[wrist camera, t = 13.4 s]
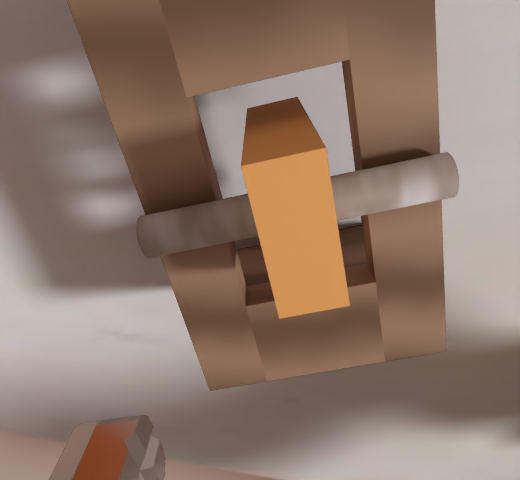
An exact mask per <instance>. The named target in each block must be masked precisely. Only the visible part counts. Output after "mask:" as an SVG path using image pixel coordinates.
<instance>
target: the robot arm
mask: <svg viewBox="0 0 520 480" xmlns="http://www.w3.org/2000/svg"><path fill="white" fill-rule="evenodd" d="M152 429H153V425H152V423H151V421H150V419H149V417H148V416H146V415H139V416H132V417H124V418H116V419H109V420H101V421H97V422H90V423H82V424H79V425H78V426H77V427H76V428H75V429H74V430H73V432H72V434H71V436H70V438H69V440H68V442H67V444H66V446H65V448H64V450H63V453H62V454H61V456H60V458H59V461H58V463H57V465H56V467H55V469H54V471H53V473H52V475H51V477H50V479H49V480H164V476H165V455H164V450H163V447H162V445H161V442H160V440H158V439H157V438H155V437H153V436H152V435H151V432H152Z"/></svg>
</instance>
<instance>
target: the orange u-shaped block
mask: <svg viewBox="0 0 520 480" xmlns="http://www.w3.org/2000/svg"><path fill="white" fill-rule="evenodd" d="M241 168H242V172H243V176H244V180H245V184H246V188H247V192H248V196H249V200H250V204H251V208H252V212H253V216H254V220H255V224H256V228H257V232H258V236H259V240H260V244H261V248H262V252H263V256H264V260H265V264H266V268H267V272H268V276H269V280H270V284H271V288H272V292H273V296H274V300H275V304H276V308H277V312H278V316H279V319H281V318H286V317H292V316H297V315H302V314H308V313H313V312H319V311H324V310H330V309H335V308H341V307H346V306H350V302H349V295H348V289H347V282H346V276H345V269H344V263H343V256H342V250H341V243H340V237H339V230H338V223H337V217H336V210H335V204H334V197H333V191H332V184H331V178H330V171H329V164H328V158H327V151H326V147H325V145H324V143H323V142H322V140H321V138H320V136H319V134H318V133H317V131H316V129H315V127H314V126H313V124H312V122H311V120H310V119H309V117H308V115H307V113H306V111H305V110H304V108H303V106H302V104H301V103H300V101H299V99H298V97H295V98H290V99H286V100H282V101H277V102H273V103H269V104H264V105H260V106H256V107H252V108H247V116H246V125H245V134H244V144H243V153H242V162H241Z"/></svg>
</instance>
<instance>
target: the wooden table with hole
mask: <svg viewBox="0 0 520 480" xmlns="http://www.w3.org/2000/svg"><path fill="white" fill-rule="evenodd" d="M67 2H68V5H69V7H70V10H71V13H72V15H73V18H74V21H75V24H76V26H77V29H78V32H79V35H80V37H81V40H82V43H83V45H84V48H85V51H86V54H87V56H88V59H89V62H90V65H91V67H92V70H93V73H94V75H95V78H96V81H97V84H98V86H99V89H100V92H101V95H102V97H103V100H104V103H105V106H106V108H107V111H108V114H109V116H110V119H111V122H112V125H113V127H114V130H115V133H116V136H117V138H118V141H119V144H120V146H121V149H122V152H123V155H124V157H125V160H126V163H127V166H128V168H129V171H130V174H131V176H132V179H133V182H134V185H135V187H136V190H137V193H138V196H139V198H140V201H141V204H142V207H143V209H144V212H145V216H140V217H139V218H138V220H137V237H138V241H139V245H140V247H141V250H142V252H143V253H144V255H145V256H146V257H147V258H153V257H158V256H161V258H162V261H163V264H164V267H165V269H166V272H167V275H168V277H169V280H170V283H171V286H172V288H173V291H174V294H175V297H176V299H177V302H178V305H179V308H180V310H181V313H182V316H183V318H184V321H185V324H186V327H187V329H188V332H189V335H190V338H191V340H192V343H193V346H194V348H195V351H196V354H197V357H198V359H199V362H200V365H201V368H202V370H203V373H204V376H205V378H206V381H207V384H208V387H209V389H210V391H212V390H218V389H224V388H230V387H236V386H242V385H248V384H254V383H260V382H266V381H272V380H278V379H284V378H290V377H296V376H302V375H308V374H314V373H320V372H325V371H331V370H337V369H343V368H349V367H355V366H361V365H367V364H373V363H379V362H385V361H391V360H397V359H403V358H409V357H415V356H421V355H427V354H433V353H439V352H445V351H446V322H445V292H444V262H443V232H442V202H441V200H442V199H447V198H452V197H455V196H456V195H457V193H458V189H459V176H458V170H457V166H456V163H455V161H454V159H453V157H452V156H451V155H450V154H449V153H448V152H445V153H440V142H439V112H438V82H437V52H436V22H435V0H67ZM341 61H342V67H343V75H344V83H345V91H346V99H347V107H348V115H349V123H350V131H351V139H352V147H353V155H354V163H355V171H354V172H349V173H345V174H340V175H335V176H330V178H331V184H332V191H333V197H334V204H335V210H336V217H337V221H338V220H343V219H348V218H352V217H357V216H361V219H362V225H361V226H356V227H351V228H346V229H341V230H339V237H340V243H341V250H342V256H343V263H344V269H345V276H346V282H347V289H348V295H349V302H350V306H346V307H341V308H335V309H330V310H324V311H319V312H313V313H308V314H302V315H297V316H292V317H286V318H281V319H279V316H278V312H277V308H276V304H275V300H274V296H273V292H272V288H271V284H270V280H269V276H268V272H267V268H266V264H265V260H264V256H263V252H262V248H261V245H260V246H255V247H250V248H245V249H240V250H236V246H235V242H234V241H238V240H243V239H248V238H253V237H258V232H257V228H256V224H255V220H254V216H253V212H252V208H251V204H250V200H249V196H248V194H245V195H240V196H235V197H230V198H226V199H222V195H221V191H220V188H219V184H218V181H217V177H216V173H215V170H214V166H213V162H212V159H211V155H210V151H209V148H208V144H207V141H206V137H205V133H204V130H203V126H202V122H201V119H200V115H199V111H198V108H197V104H196V100H195V97H194V96H196V95H200V94H205V93H209V92H213V91H217V90H222V89H226V88H230V87H234V86H239V85H243V84H247V83H251V82H256V81H260V80H264V79H269V78H273V77H277V76H281V75H286V74H290V73H294V72H298V71H303V70H307V69H311V68H315V67H320V66H324V65H328V64H333V63H337V62H341Z"/></svg>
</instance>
